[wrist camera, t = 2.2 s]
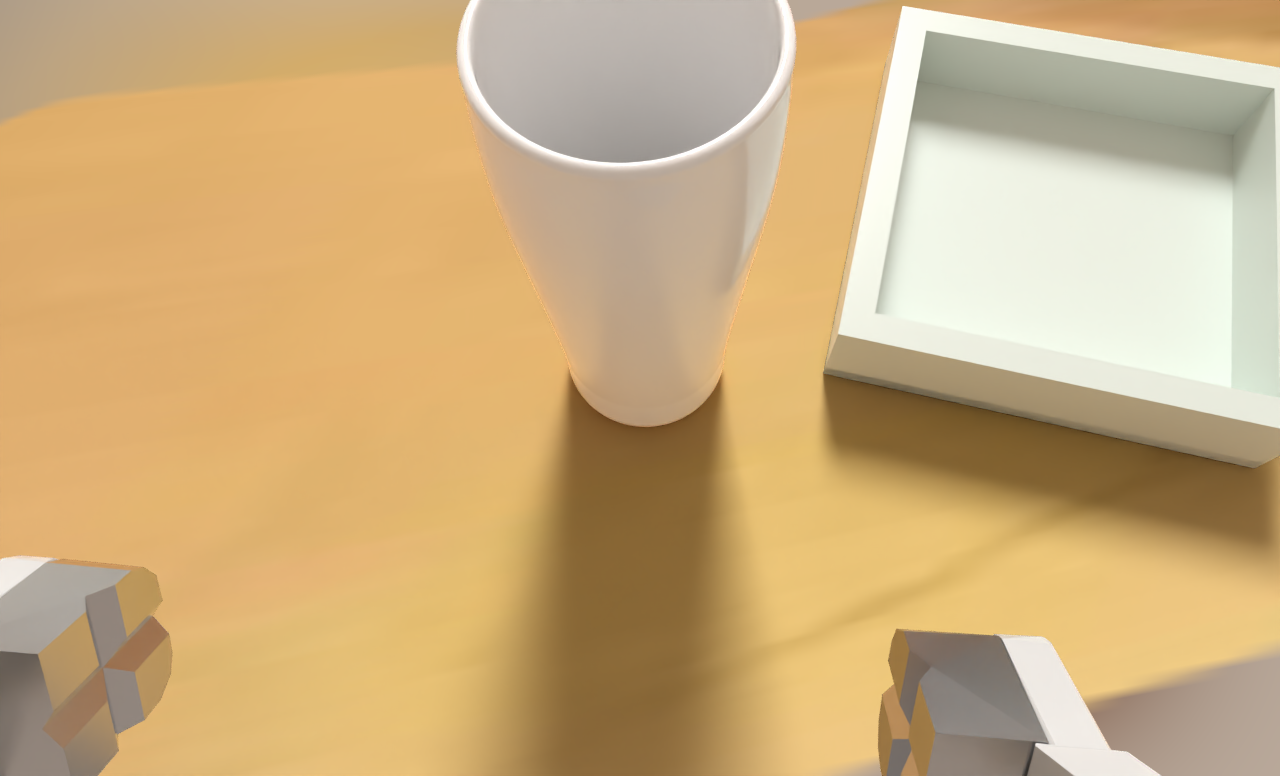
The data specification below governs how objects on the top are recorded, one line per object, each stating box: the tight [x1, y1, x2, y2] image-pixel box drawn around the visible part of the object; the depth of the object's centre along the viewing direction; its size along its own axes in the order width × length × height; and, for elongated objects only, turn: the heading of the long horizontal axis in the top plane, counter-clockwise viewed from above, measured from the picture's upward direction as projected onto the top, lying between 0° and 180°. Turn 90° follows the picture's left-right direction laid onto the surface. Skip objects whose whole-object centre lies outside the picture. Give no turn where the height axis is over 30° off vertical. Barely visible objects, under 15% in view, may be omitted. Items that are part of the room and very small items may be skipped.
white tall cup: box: [457, 0, 796, 427], centre depth 24 cm, size 7×7×15 cm
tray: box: [823, 6, 1280, 468], centre depth 31 cm, size 14×14×3 cm
